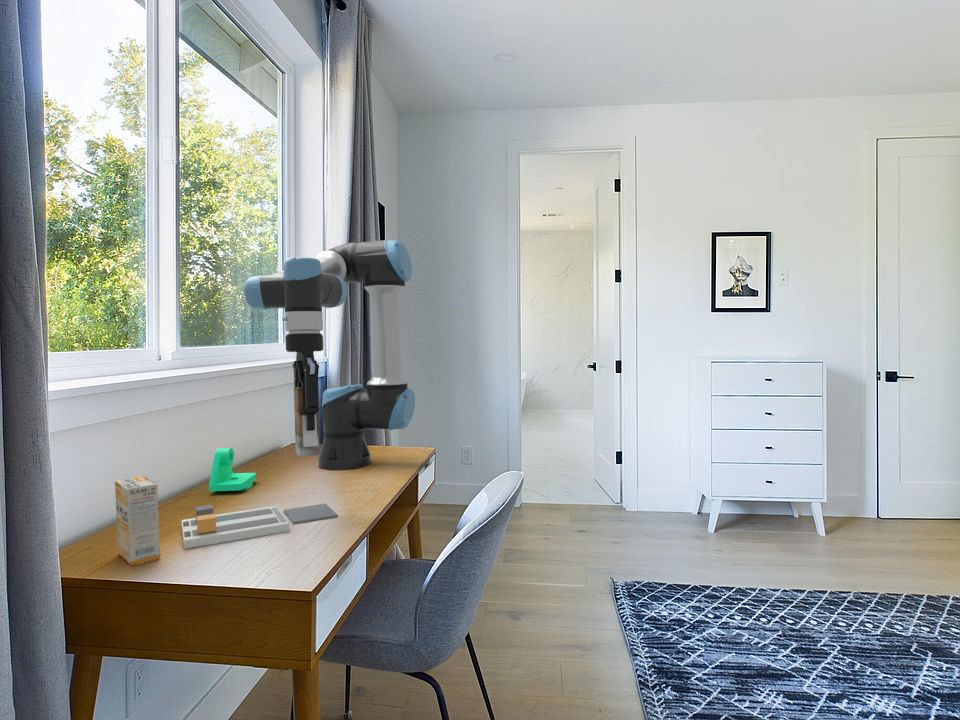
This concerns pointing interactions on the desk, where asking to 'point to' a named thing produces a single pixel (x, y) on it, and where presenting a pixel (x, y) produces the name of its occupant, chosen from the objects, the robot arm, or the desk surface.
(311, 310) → the robot arm
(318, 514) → the mat
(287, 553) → the desk surface
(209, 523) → the tab
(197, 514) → the tab
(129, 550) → the supplement box
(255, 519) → the switch board
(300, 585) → the desk surface
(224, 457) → the camera mount
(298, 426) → the wooden beam block
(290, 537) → the desk surface
